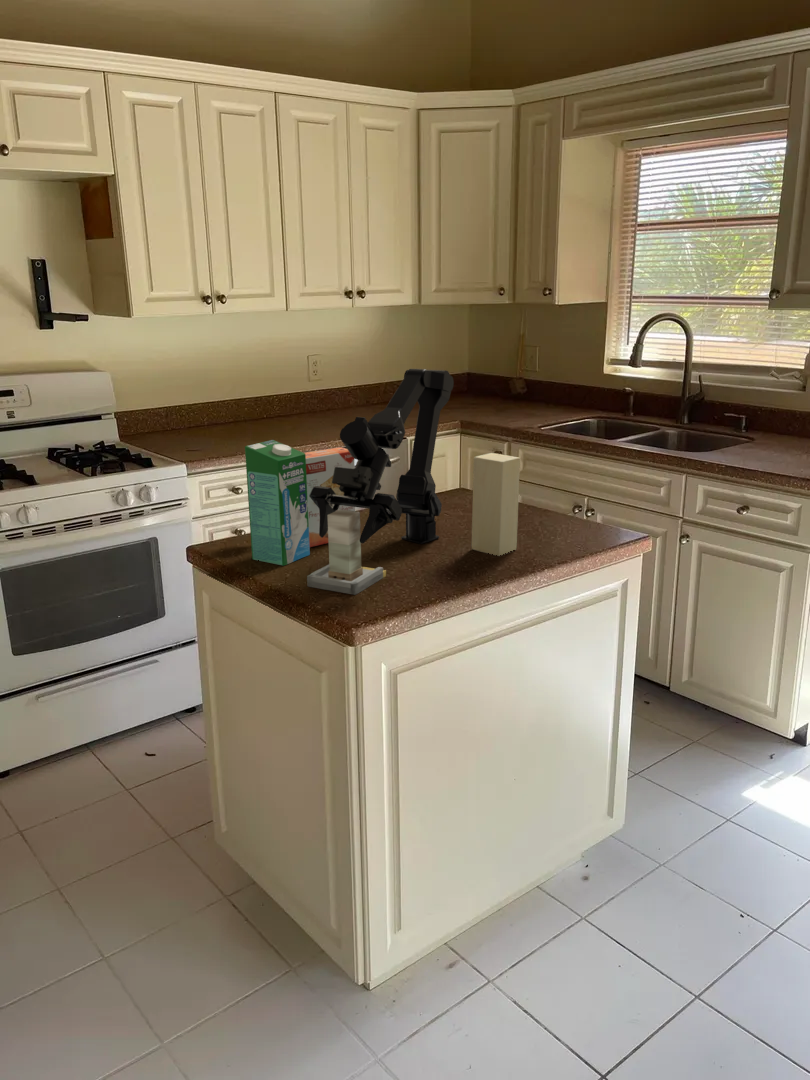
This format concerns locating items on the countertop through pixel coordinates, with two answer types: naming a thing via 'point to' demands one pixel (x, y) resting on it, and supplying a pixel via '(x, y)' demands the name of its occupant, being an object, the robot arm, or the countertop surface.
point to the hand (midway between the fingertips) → (340, 539)
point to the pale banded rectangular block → (344, 545)
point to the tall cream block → (495, 503)
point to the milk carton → (277, 502)
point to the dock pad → (350, 587)
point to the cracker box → (324, 484)
